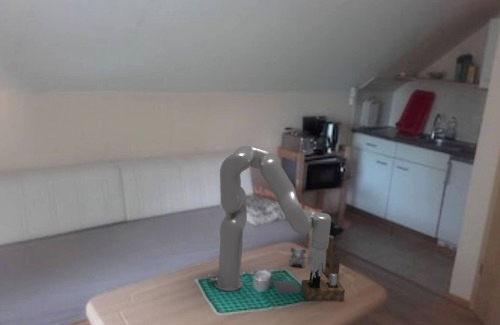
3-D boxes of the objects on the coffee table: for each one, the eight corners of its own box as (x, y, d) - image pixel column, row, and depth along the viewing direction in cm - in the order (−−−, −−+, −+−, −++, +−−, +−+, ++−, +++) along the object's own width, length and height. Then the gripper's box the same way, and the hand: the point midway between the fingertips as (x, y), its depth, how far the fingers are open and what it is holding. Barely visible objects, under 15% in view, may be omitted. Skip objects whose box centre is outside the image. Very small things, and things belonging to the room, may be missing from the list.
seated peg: (328, 297, 187) (331, 276, 185) (326, 293, 190) (329, 272, 188) (335, 297, 188) (338, 276, 186) (333, 293, 191) (335, 272, 188)
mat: (277, 293, 187) (277, 292, 187) (272, 281, 197) (272, 280, 197) (300, 293, 189) (300, 292, 189) (294, 281, 199) (294, 280, 199)
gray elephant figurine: (290, 269, 210) (292, 255, 208) (283, 257, 221) (285, 243, 219) (308, 269, 212) (310, 255, 210) (301, 257, 223) (303, 243, 221)
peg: (311, 291, 186) (314, 269, 183) (309, 287, 188) (311, 266, 186) (318, 291, 186) (320, 269, 184) (316, 287, 189) (318, 266, 187)
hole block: (306, 301, 183) (307, 290, 182) (300, 290, 192) (302, 279, 190) (343, 301, 185) (344, 290, 184) (336, 290, 194) (337, 279, 193)
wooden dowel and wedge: (330, 281, 202) (335, 244, 197) (320, 270, 212) (324, 234, 207) (338, 280, 203) (342, 244, 199) (327, 269, 213) (331, 234, 209)
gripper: (305, 234, 190) (300, 273, 194) (316, 251, 174) (311, 293, 178) (322, 234, 191) (317, 273, 195) (334, 251, 175) (329, 293, 179)
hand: (314, 282), depth 186 cm, fingers closed on peg, 3 cm apart
